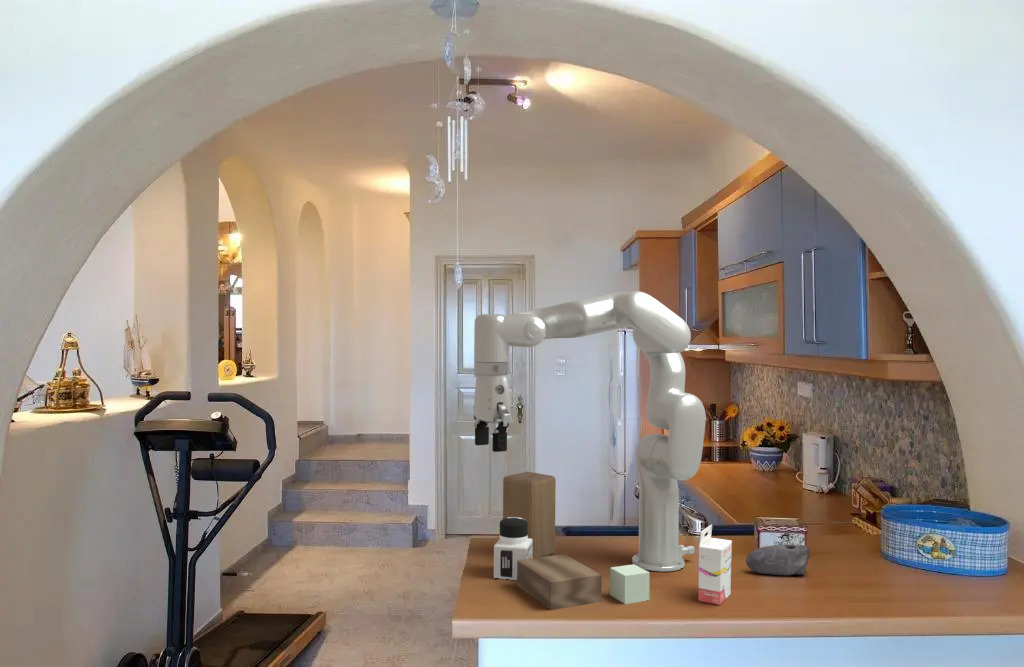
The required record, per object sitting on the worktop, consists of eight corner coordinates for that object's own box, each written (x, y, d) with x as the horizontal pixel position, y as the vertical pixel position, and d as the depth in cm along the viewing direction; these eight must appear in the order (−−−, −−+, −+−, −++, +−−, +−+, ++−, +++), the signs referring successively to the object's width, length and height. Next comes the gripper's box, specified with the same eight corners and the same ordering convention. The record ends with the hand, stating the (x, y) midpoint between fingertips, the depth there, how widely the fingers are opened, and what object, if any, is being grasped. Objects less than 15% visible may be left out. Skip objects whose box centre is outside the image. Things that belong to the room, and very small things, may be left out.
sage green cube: (633, 591, 166) (633, 564, 166) (649, 600, 160) (649, 572, 160) (610, 595, 163) (610, 567, 163) (624, 604, 158) (625, 575, 158)
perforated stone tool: (748, 576, 176) (748, 546, 176) (743, 569, 182) (743, 540, 182) (814, 579, 175) (815, 549, 175) (808, 572, 180) (808, 542, 180)
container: (526, 581, 172) (527, 524, 171) (493, 579, 173) (493, 522, 173) (532, 570, 179) (532, 516, 179) (500, 568, 181) (501, 514, 181)
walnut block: (564, 580, 174) (564, 553, 174) (601, 603, 159) (601, 574, 159) (517, 587, 169) (517, 560, 169) (550, 611, 154) (551, 582, 154)
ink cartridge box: (721, 606, 157) (721, 535, 157) (697, 601, 160) (698, 531, 160) (732, 593, 165) (732, 526, 165) (709, 589, 167) (710, 523, 167)
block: (500, 555, 191) (501, 476, 191) (526, 546, 199) (526, 470, 199) (531, 563, 185) (532, 481, 185) (556, 554, 193) (557, 475, 192)
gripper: (523, 372, 160) (523, 453, 160) (491, 368, 176) (490, 441, 176) (491, 372, 157) (490, 455, 157) (460, 368, 173) (460, 443, 173)
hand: (490, 448), depth 167 cm, fingers open, 9 cm apart
